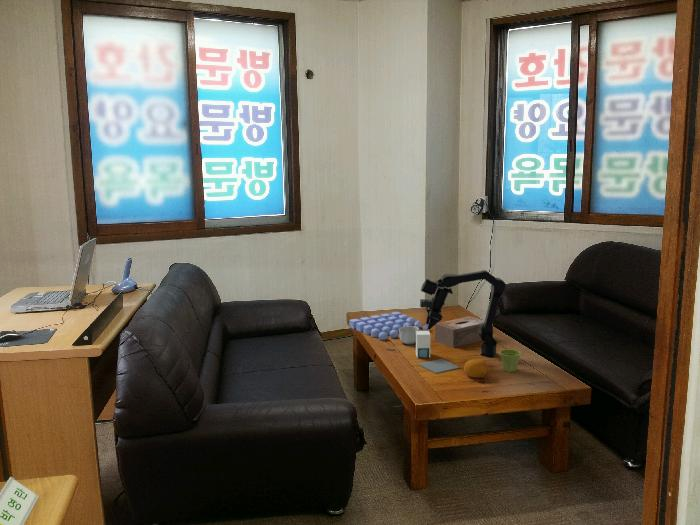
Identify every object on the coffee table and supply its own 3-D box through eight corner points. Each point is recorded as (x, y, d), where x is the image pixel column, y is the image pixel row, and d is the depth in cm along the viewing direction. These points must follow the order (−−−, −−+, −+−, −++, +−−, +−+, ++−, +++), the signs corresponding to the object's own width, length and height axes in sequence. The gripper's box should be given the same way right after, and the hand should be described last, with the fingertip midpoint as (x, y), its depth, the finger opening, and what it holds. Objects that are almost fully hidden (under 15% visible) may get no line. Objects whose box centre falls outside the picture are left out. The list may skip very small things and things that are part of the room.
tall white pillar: (428, 353, 299) (428, 330, 297) (430, 357, 293) (430, 334, 291) (415, 353, 300) (415, 330, 298) (416, 357, 293) (417, 334, 291)
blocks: (397, 319, 367) (397, 311, 366) (432, 332, 338) (432, 324, 337) (349, 327, 350) (349, 319, 349) (381, 342, 320) (381, 333, 320)
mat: (442, 359, 290) (442, 358, 290) (459, 368, 278) (459, 367, 277) (418, 364, 283) (418, 363, 283) (435, 373, 271) (435, 372, 271)
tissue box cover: (453, 348, 308) (453, 329, 307) (434, 341, 320) (435, 323, 319) (488, 339, 322) (488, 321, 320) (469, 333, 334) (469, 316, 332)
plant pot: (516, 375, 268) (517, 356, 266) (496, 371, 273) (497, 353, 271) (522, 368, 276) (523, 351, 274) (502, 365, 281) (503, 348, 279)
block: (426, 354, 298) (426, 346, 298) (427, 357, 294) (427, 349, 294) (418, 354, 298) (418, 347, 298) (419, 357, 294) (419, 349, 294)
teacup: (418, 346, 311) (418, 331, 310) (397, 345, 313) (397, 330, 312) (420, 338, 325) (420, 324, 323) (400, 337, 327) (400, 323, 326)
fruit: (468, 370, 274) (468, 354, 273) (490, 374, 269) (491, 357, 268) (460, 377, 265) (461, 361, 264) (483, 382, 260) (483, 364, 259)
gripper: (423, 288, 300) (411, 315, 303) (426, 296, 282) (414, 326, 285) (443, 296, 301) (431, 323, 303) (448, 305, 282) (435, 334, 285)
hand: (427, 326), depth 294 cm, fingers open, 9 cm apart
